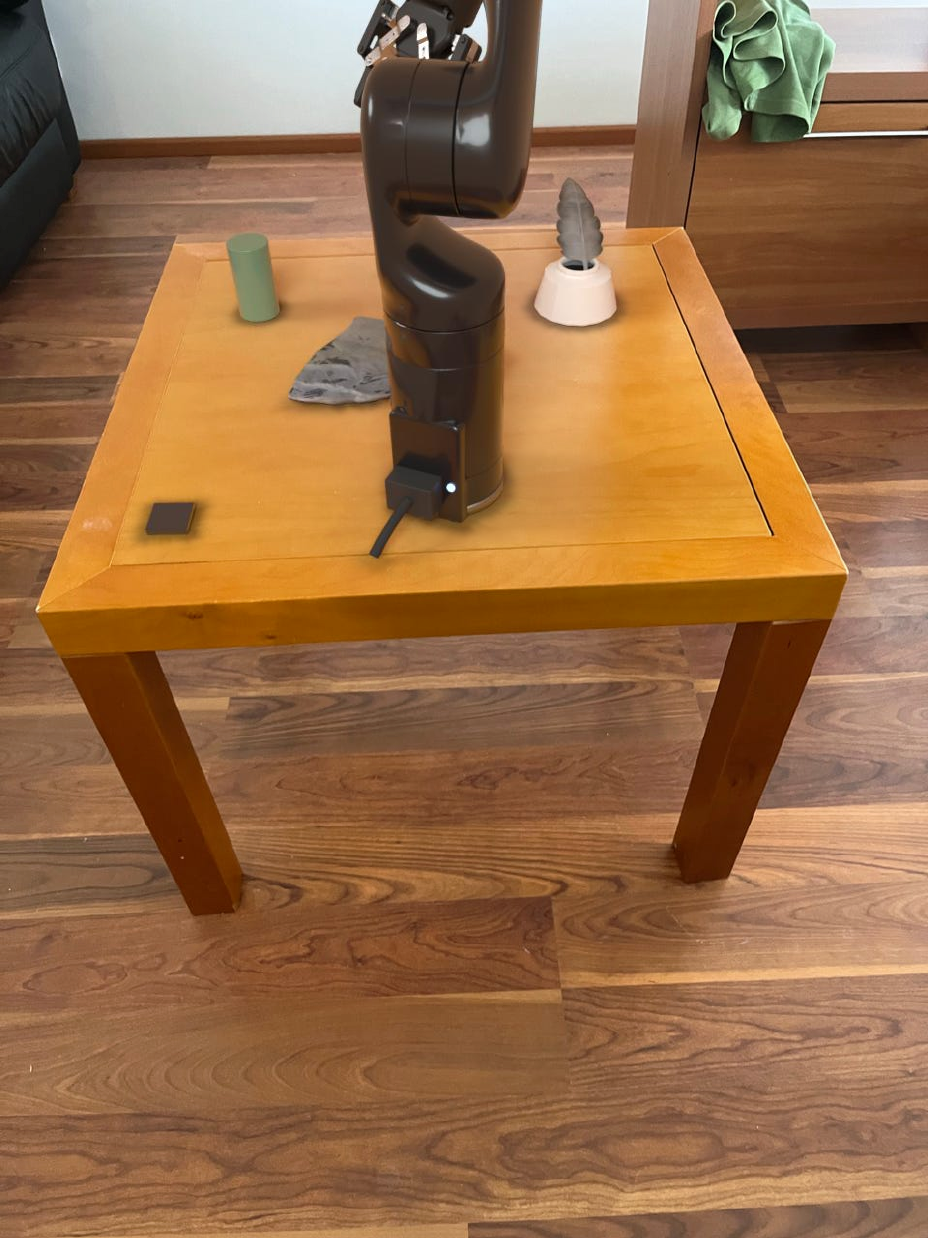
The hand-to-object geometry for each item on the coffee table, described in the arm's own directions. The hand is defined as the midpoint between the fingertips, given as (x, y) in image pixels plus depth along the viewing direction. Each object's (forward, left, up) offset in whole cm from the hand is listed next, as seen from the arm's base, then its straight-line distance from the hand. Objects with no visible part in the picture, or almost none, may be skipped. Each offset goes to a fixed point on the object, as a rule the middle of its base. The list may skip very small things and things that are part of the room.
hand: (385, 122), depth 98 cm
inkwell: (+4, -20, -17) cm, 26 cm away
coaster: (-47, -2, -16) cm, 50 cm away
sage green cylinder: (-14, +10, -16) cm, 24 cm away
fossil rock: (-20, -10, -17) cm, 28 cm away
